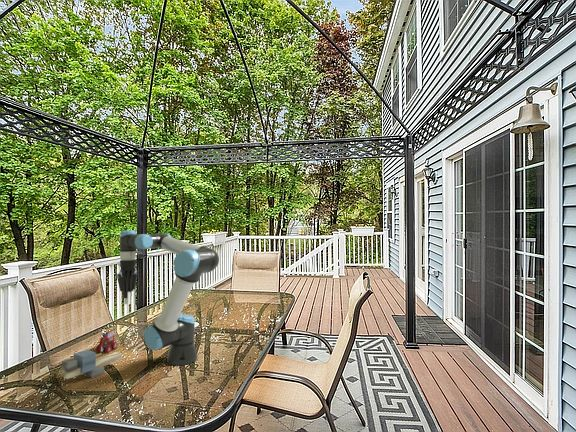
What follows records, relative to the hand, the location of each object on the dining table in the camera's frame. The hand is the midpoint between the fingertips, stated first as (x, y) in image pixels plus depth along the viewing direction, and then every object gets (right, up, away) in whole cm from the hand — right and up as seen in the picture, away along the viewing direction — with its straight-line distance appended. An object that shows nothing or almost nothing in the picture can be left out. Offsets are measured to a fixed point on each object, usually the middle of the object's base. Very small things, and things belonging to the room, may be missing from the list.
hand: (127, 304), depth 186 cm
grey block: (-9, -24, -24) cm, 35 cm away
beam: (-7, -28, -21) cm, 35 cm away
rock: (-16, -29, -9) cm, 34 cm away
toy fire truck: (-16, -29, +10) cm, 34 cm away
